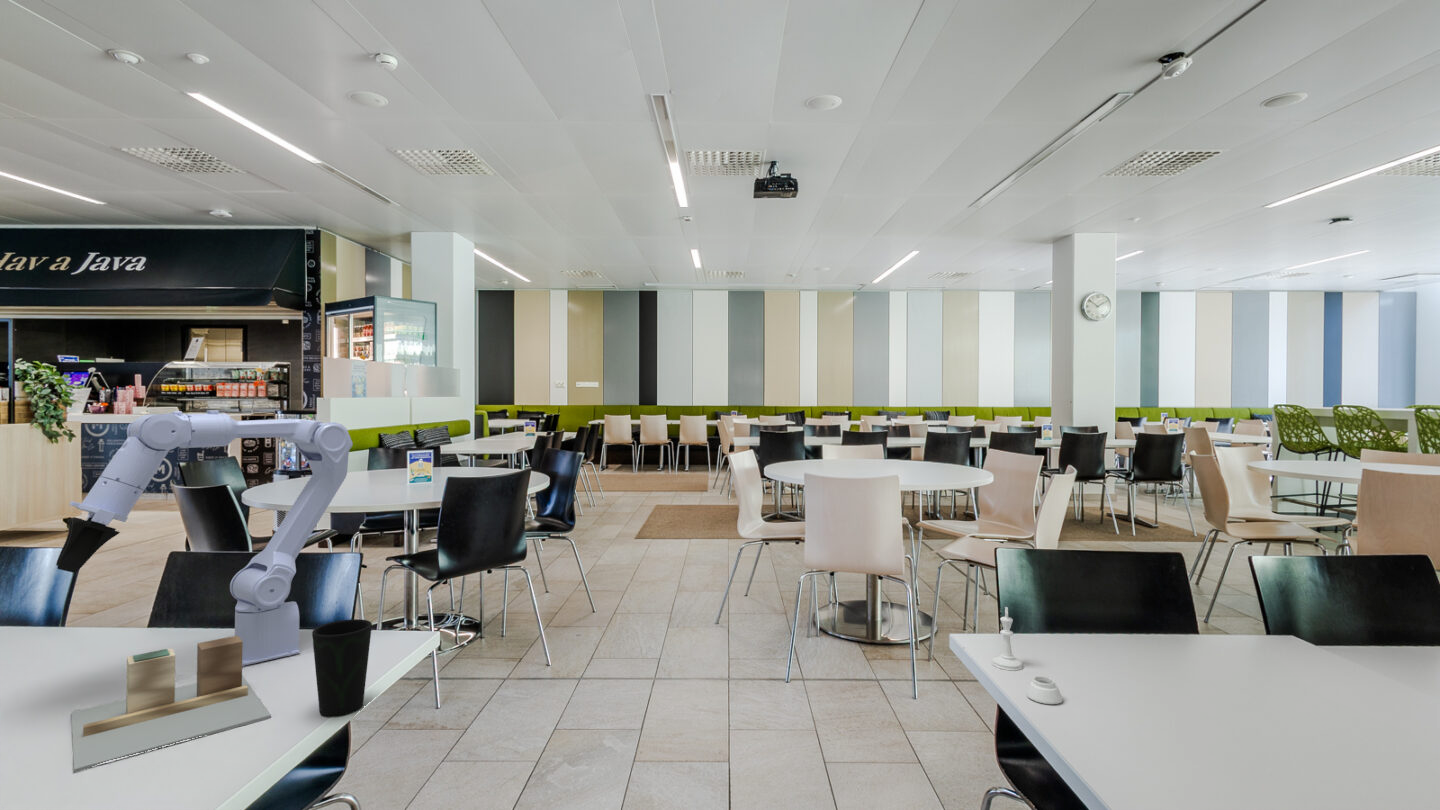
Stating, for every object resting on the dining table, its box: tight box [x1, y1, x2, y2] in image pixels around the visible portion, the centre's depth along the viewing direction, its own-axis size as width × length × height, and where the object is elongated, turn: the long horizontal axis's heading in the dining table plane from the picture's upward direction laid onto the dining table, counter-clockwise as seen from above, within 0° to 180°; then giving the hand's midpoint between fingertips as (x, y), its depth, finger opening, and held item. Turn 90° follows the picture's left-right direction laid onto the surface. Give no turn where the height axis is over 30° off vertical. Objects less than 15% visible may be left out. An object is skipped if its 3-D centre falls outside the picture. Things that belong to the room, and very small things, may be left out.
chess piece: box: [991, 606, 1024, 671], centre depth 112 cm, size 5×5×10 cm
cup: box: [311, 618, 373, 718], centre depth 96 cm, size 8×8×12 cm
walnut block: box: [196, 635, 243, 697], centre depth 99 cm, size 5×4×8 cm
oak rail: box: [83, 685, 248, 737], centre depth 93 cm, size 18×1×1 cm, turn 136°
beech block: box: [125, 648, 176, 714], centre depth 94 cm, size 5×4×8 cm
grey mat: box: [70, 674, 272, 773], centre depth 93 cm, size 20×22×1 cm
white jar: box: [1025, 675, 1064, 705], centre depth 99 cm, size 5×3×5 cm
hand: (65, 569), depth 95 cm, fingers open, 7 cm apart
